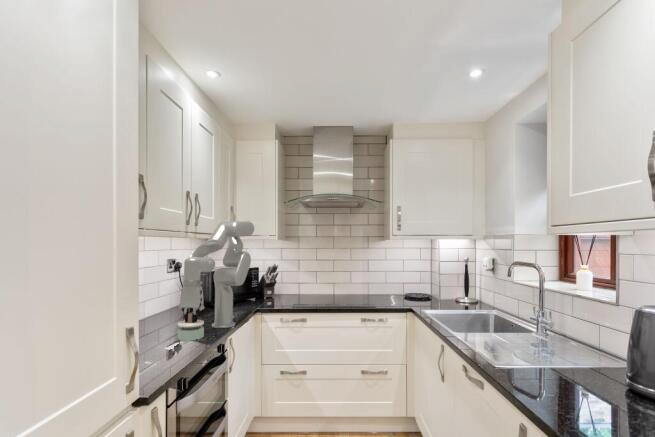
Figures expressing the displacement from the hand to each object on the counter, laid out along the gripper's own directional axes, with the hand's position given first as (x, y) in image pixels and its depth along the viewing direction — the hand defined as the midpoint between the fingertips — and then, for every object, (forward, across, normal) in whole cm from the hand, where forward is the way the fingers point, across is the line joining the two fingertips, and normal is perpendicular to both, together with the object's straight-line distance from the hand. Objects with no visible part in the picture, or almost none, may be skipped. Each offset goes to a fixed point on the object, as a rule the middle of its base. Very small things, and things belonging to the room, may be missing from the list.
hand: (191, 321), depth 172 cm
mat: (+8, -4, +14) cm, 16 cm away
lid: (+1, 0, 0) cm, 1 cm away
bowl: (+8, 0, 0) cm, 8 cm away
